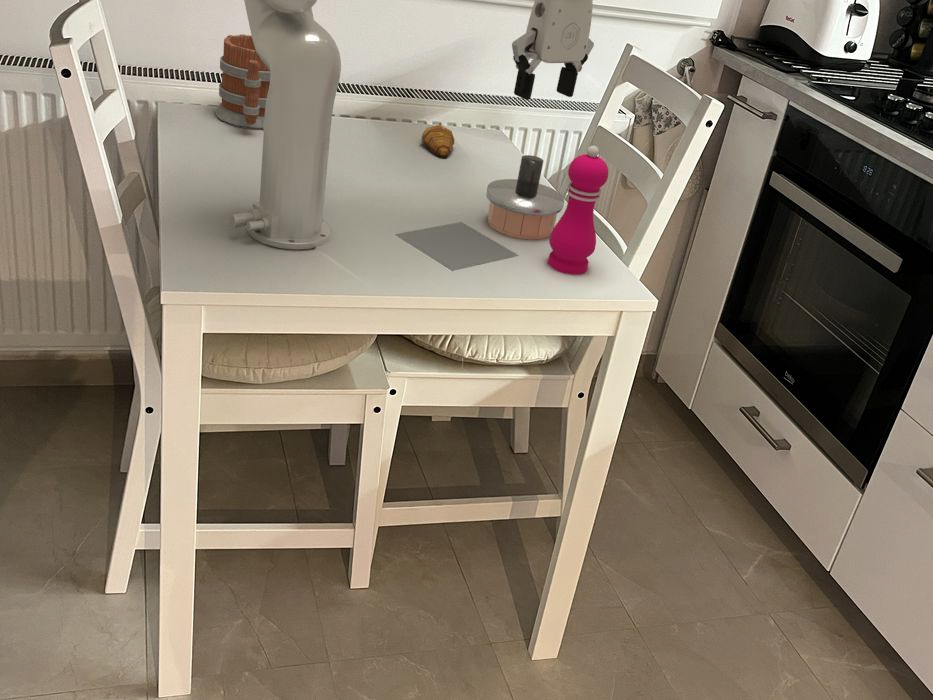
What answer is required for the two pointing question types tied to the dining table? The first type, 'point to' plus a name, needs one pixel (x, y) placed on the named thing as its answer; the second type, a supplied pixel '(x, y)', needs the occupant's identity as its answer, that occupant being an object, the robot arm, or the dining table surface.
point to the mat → (456, 245)
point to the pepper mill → (578, 215)
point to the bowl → (520, 223)
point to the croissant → (438, 140)
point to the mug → (243, 84)
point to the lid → (526, 191)
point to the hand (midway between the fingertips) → (543, 95)
